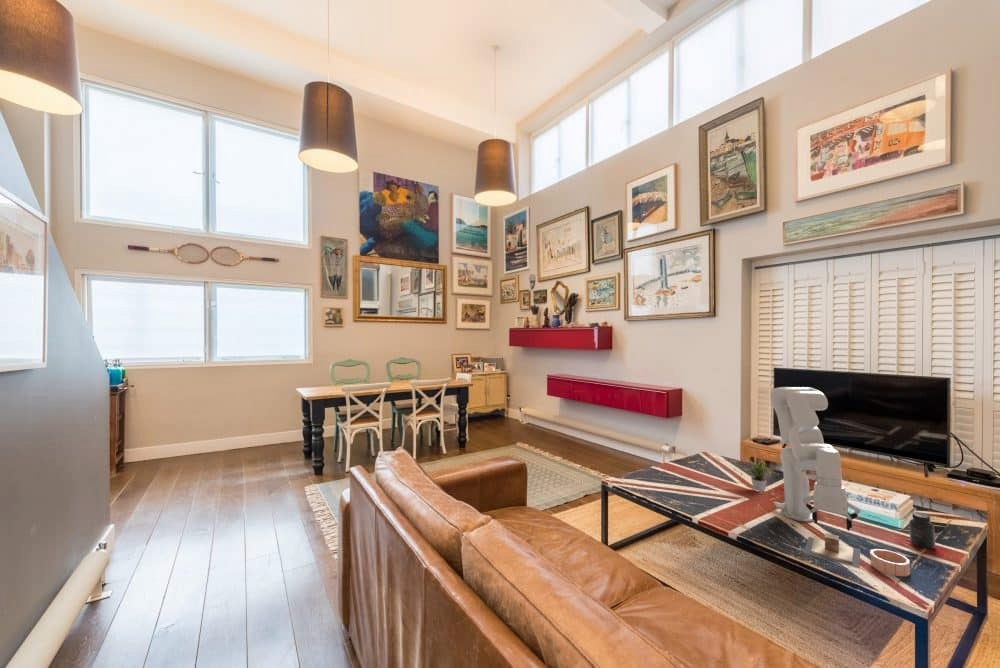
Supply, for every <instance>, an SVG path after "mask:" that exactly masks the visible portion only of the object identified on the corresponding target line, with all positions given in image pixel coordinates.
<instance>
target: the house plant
mask: <svg viewBox="0 0 1000 668" xmlns="http://www.w3.org/2000/svg"><path fill="white" fill-rule="evenodd" d="M747 461H749V462H750V464H751V465H750V464H748V463H745V462H744V464H745V465H746V464H747V466H748V467H749V469H748V468H744V470H745V471H747V472H746V474H747V475H748V476H750V475H753V476H751V478H750V479H751V482H752V483H751V484H752V487H753V488H752V489H753V490H754V489H756V490H759V491H764V490H765V491H766V488H767V487H766V486H767V479H766V477H765V476H764V475H765V472H766V471H767V470H768V469H769V467H767V466H768V464H767V463H766V462H764V459H762V460H761V461H759V462H758V465H756V463H754V462H753V461H751V460H750V459H748V458H747ZM746 474H745V475H746ZM767 474H769V472H768V473H766V475H767ZM772 474H773V473H771V472H770V475H772Z"/></svg>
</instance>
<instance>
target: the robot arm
mask: <svg viewBox="0 0 1000 668" xmlns="http://www.w3.org/2000/svg"><path fill="white" fill-rule="evenodd" d="M769 395H770V402H771V404H772V407H773V409H774V411H775V414H776V416H777V421H778V428H779V432H780V433H779V434H780V438H781V441H782V442H783V444H786V445H789V446H790V447H787V448H783V449H782V450H780V452H779V453H780V454H779V455H780V456H779V457H780V460H781V461H780V462H781V465H782V473H783V487H784V489H783V490H784V502H781V503H780V502H779V501H778V502H777V501H774V502H773V506H774V507H776V509H781V511H780V512H782V513H781V514H782V515H783V516H784V515H785V516H786V518H787V517H788V519H790V518H791V519H790V520H793V519H794V520H793V521H798V522H802V523H803V522H806V523H807V522H813V521H814V524H818V520H819V519H818V511H821V512H827V513H831V514H837V515H842V516H845V518H846V520H845V522H846V531H848V532H849V531H850V529H853V522H852V521H853V520H854V519H855V518H857V517H858V516H859V514H860V513H861V510H862V509H861V508H859V507H858V506H855V505H854V504H852V503H850V502H849V501H848V495H847V492H846V488H845V486H844V485H843V479H842V476H843V475H842V464H841V462H842V460H841V454H840V451H839V450H837V449H835V447H834V446H833V445H831V444H828V443H825V441H824V437H823V433H822V431H821V430H820V428H819V427H818V425H819V424H820V421H819V420H820V419H819V417H818V415H817V413H816V411H825V410H827V409H828V407H829V401H828V399H827V397H826V394H824V393H823V392H822V391H820V390H818V389H816V388H814V387H810V386H809V387H808V386H806V387H805V386H801V387H800V386H797V387H796V386H780V387H775V388H773V389H772V390H771V391H770V393H769ZM805 470H807V471H816V475H812V476H811V478H812V480H815V482H814V485H813V495H811V496H810V481H809V478H808V476H807V474H805V473H804V472H803V471H805ZM812 501H813V506H812V505H811V502H812ZM849 508H850V509H851V510H853V512H852V513H850V512H849ZM785 516H784V517H785Z"/></svg>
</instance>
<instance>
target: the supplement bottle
mask: <svg viewBox="0 0 1000 668" xmlns="http://www.w3.org/2000/svg"><path fill="white" fill-rule="evenodd" d="M911 517H912V519H910V520H909V541H910V543H911V544H912V545H914V546H916V547H919V548H922V549H926V550H933V549H935V548H936V539H935V537H936V535H935V525H934V524H933V523H932V522H931V516H930V515H928V514H926V513H922V512H917V511H915V512H912V516H911Z"/></svg>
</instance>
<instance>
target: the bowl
mask: <svg viewBox="0 0 1000 668" xmlns="http://www.w3.org/2000/svg"><path fill="white" fill-rule="evenodd" d="M870 565H871V566H872V567H874V568H875V569H877V570H878V571H880V572H882V573H884V574H888V575H891V576H895V577H909V576H910V575H911V562H910V559H908V557H906V556H904V555H903V554H900V553H898V552H895V551H891V550H889V549H888V550H887V549H884V548H883V549H881V548H874V549H870Z"/></svg>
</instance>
